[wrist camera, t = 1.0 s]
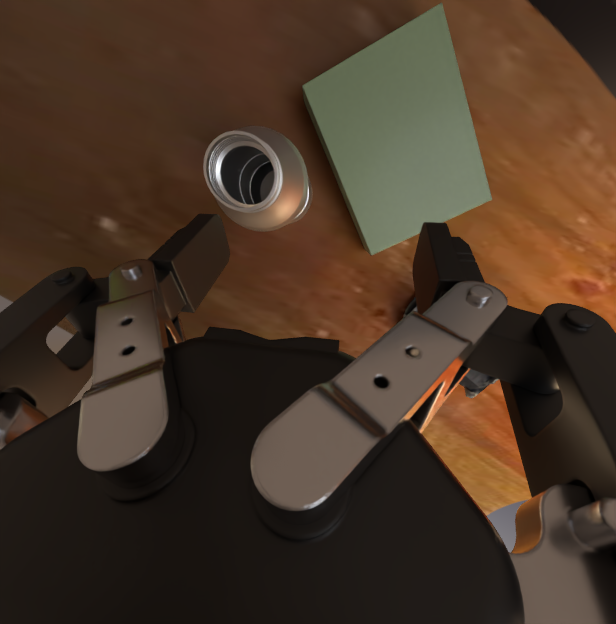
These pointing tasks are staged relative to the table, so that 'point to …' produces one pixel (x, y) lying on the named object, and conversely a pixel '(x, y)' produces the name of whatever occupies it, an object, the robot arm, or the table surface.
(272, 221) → the silver metal bottle
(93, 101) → the table surface
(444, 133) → the riser
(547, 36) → the table surface
